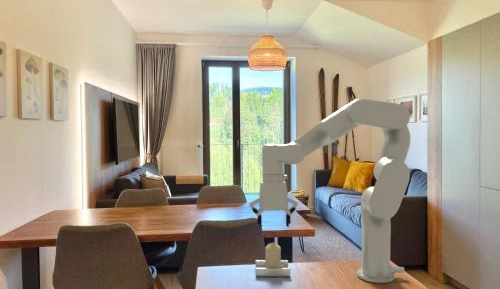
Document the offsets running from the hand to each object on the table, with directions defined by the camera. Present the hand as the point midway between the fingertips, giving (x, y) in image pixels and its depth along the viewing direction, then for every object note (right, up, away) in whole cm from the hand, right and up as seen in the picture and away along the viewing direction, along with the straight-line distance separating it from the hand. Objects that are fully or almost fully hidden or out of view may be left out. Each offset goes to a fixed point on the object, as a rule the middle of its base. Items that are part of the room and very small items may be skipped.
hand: (274, 226), depth 136 cm
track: (-1, -17, 0) cm, 17 cm away
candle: (0, -17, 0) cm, 17 cm away
